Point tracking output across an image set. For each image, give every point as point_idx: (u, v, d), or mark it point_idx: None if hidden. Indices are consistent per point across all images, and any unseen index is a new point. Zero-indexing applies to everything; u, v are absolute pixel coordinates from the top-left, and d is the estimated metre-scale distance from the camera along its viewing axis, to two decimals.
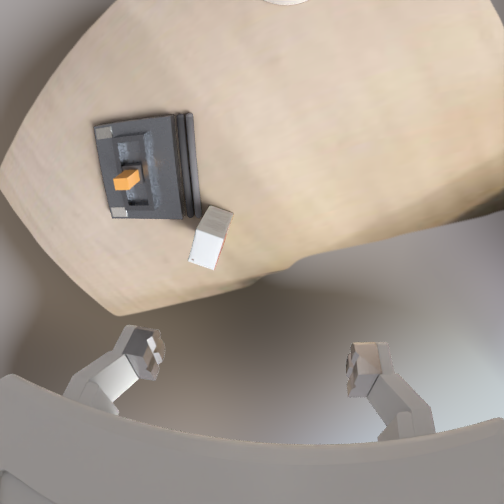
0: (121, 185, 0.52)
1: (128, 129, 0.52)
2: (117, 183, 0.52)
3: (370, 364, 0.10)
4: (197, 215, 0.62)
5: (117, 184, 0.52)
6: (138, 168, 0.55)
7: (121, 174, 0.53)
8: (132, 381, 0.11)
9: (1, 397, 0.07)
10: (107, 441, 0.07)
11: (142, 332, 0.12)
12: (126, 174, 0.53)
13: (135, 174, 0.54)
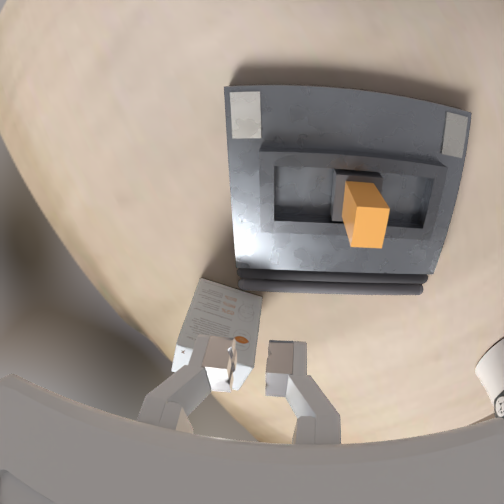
0: (366, 228, 0.20)
1: (442, 195, 0.24)
2: (374, 218, 0.19)
3: (281, 363, 0.10)
4: (244, 287, 0.34)
5: (372, 216, 0.19)
6: None
7: None
8: (205, 395, 0.11)
9: (1, 397, 0.07)
10: (107, 441, 0.07)
11: (219, 342, 0.11)
12: None
13: None
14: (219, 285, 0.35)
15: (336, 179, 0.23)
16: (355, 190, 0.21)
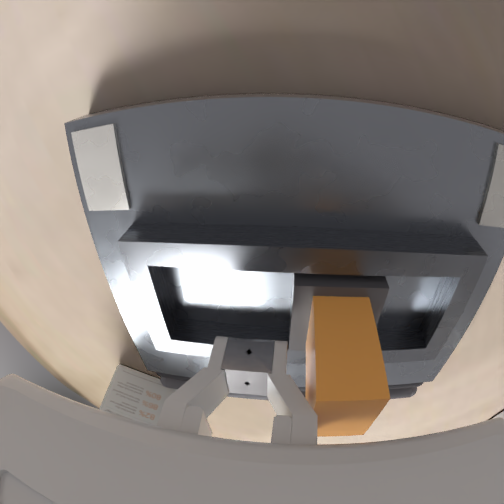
0: (335, 421, 0.09)
1: None
2: (354, 411, 0.08)
3: (260, 362, 0.10)
4: (167, 386, 0.23)
5: (349, 409, 0.08)
6: None
7: None
8: (223, 397, 0.11)
9: (1, 397, 0.07)
10: (107, 441, 0.07)
11: (238, 344, 0.11)
12: None
13: None
14: (141, 375, 0.24)
15: (294, 292, 0.12)
16: (327, 332, 0.10)
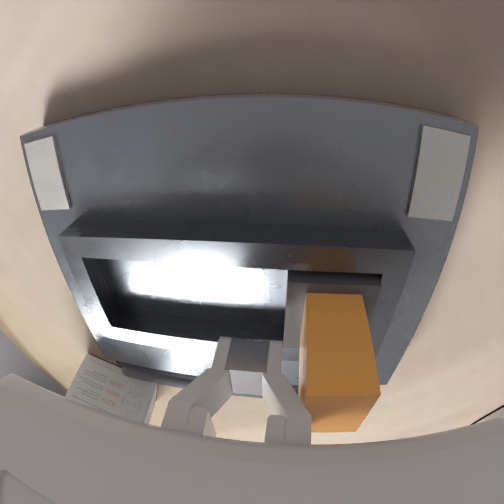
0: (326, 417, 0.09)
1: (407, 288, 0.14)
2: (345, 406, 0.09)
3: (255, 362, 0.10)
4: (128, 375, 0.24)
5: (339, 405, 0.08)
6: None
7: None
8: (227, 397, 0.11)
9: (1, 397, 0.07)
10: (107, 441, 0.07)
11: (242, 344, 0.11)
12: None
13: None
14: (106, 365, 0.25)
15: (288, 289, 0.12)
16: (318, 328, 0.11)
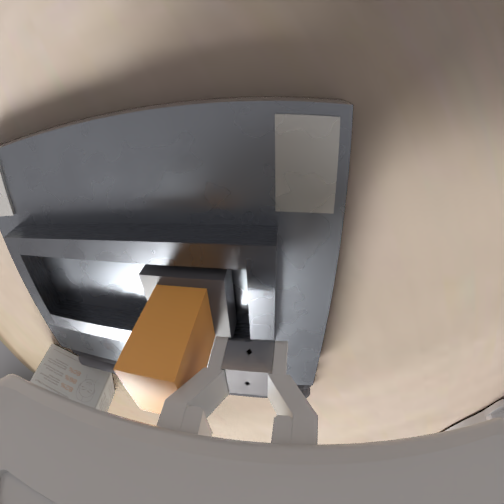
0: (149, 397, 0.10)
1: (298, 286, 0.15)
2: (154, 389, 0.09)
3: (261, 362, 0.10)
4: (83, 363, 0.25)
5: (147, 385, 0.09)
6: None
7: (194, 343, 0.11)
8: (223, 397, 0.11)
9: (1, 397, 0.07)
10: (107, 441, 0.07)
11: (238, 343, 0.11)
12: (199, 357, 0.12)
13: None
14: (68, 354, 0.26)
15: None
16: (150, 315, 0.11)
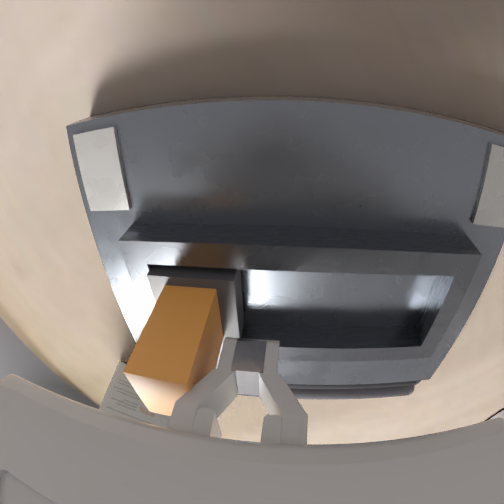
0: (159, 399, 0.10)
1: None
2: (165, 391, 0.09)
3: (252, 361, 0.10)
4: None
5: (158, 388, 0.09)
6: None
7: (204, 344, 0.11)
8: (232, 398, 0.11)
9: (1, 397, 0.07)
10: (107, 441, 0.07)
11: (247, 344, 0.11)
12: (209, 358, 0.12)
13: None
14: None
15: (150, 281, 0.13)
16: (159, 316, 0.11)
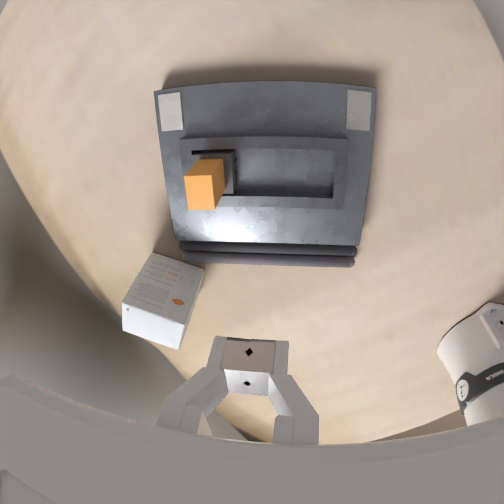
0: (196, 194, 0.25)
1: (354, 168, 0.29)
2: (200, 184, 0.24)
3: (262, 362, 0.10)
4: (186, 259, 0.38)
5: (198, 183, 0.24)
6: (226, 189, 0.30)
7: (217, 173, 0.26)
8: (222, 397, 0.11)
9: (1, 397, 0.07)
10: (107, 441, 0.07)
11: (237, 343, 0.11)
12: (219, 184, 0.27)
13: None
14: (167, 258, 0.40)
15: (192, 159, 0.28)
16: (198, 165, 0.26)
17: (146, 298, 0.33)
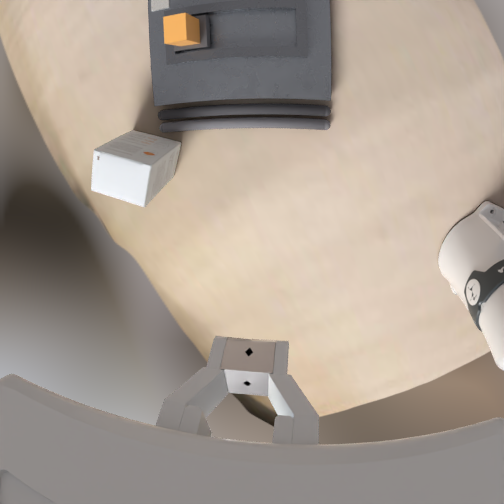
0: (172, 29, 0.23)
1: (315, 26, 0.26)
2: (176, 21, 0.22)
3: (262, 362, 0.10)
4: (163, 128, 0.36)
5: (174, 20, 0.22)
6: (200, 44, 0.27)
7: (192, 21, 0.24)
8: (222, 397, 0.11)
9: (1, 397, 0.07)
10: (107, 441, 0.07)
11: (237, 343, 0.11)
12: (193, 29, 0.24)
13: (191, 43, 0.26)
14: (146, 133, 0.38)
15: None
16: None
17: (118, 149, 0.31)
